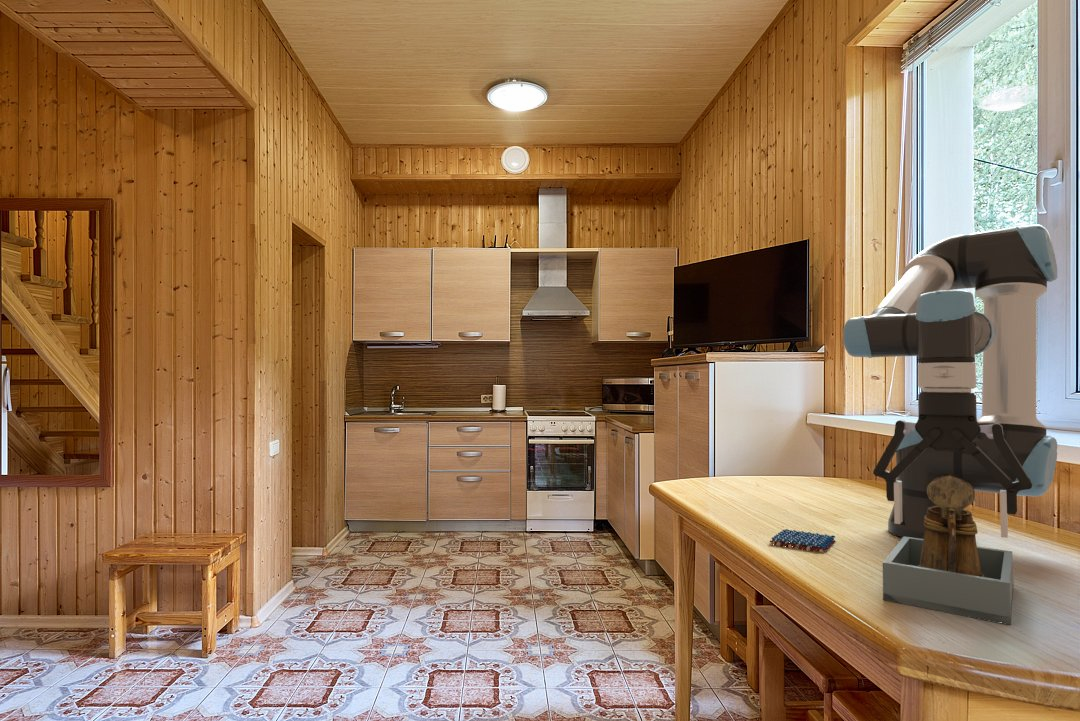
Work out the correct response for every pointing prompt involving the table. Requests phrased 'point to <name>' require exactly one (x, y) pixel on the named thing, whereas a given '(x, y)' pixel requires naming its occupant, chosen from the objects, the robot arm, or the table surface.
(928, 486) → the wooden mug
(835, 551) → the table surface
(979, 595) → the bin
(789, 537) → the woven mat
